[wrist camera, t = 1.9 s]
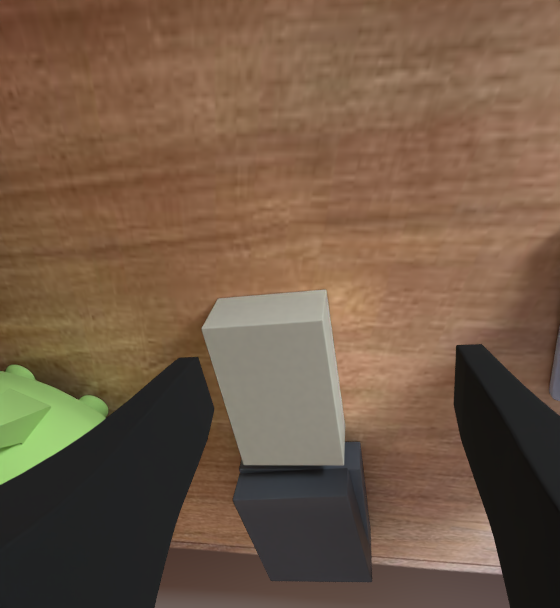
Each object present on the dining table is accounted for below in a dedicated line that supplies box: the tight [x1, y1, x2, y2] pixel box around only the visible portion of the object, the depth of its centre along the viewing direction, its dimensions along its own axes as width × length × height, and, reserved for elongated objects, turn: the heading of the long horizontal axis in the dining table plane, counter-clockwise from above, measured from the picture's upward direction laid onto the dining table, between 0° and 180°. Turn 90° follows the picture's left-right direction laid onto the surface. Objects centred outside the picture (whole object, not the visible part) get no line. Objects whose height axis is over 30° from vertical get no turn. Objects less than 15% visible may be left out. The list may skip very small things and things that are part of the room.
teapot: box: [0, 365, 108, 485], centre depth 24 cm, size 12×12×10 cm
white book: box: [202, 290, 345, 465], centre depth 22 cm, size 9×6×3 cm, turn 10°
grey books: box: [233, 442, 372, 582], centre depth 26 cm, size 9×7×4 cm
